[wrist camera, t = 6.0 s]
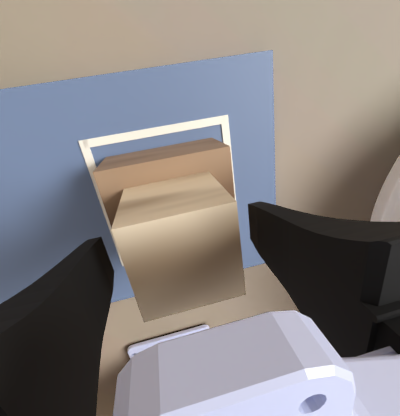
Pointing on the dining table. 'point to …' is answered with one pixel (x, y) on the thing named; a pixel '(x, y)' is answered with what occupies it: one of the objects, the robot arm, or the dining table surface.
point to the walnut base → (162, 168)
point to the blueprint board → (121, 152)
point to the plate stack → (389, 197)
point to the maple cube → (179, 244)
